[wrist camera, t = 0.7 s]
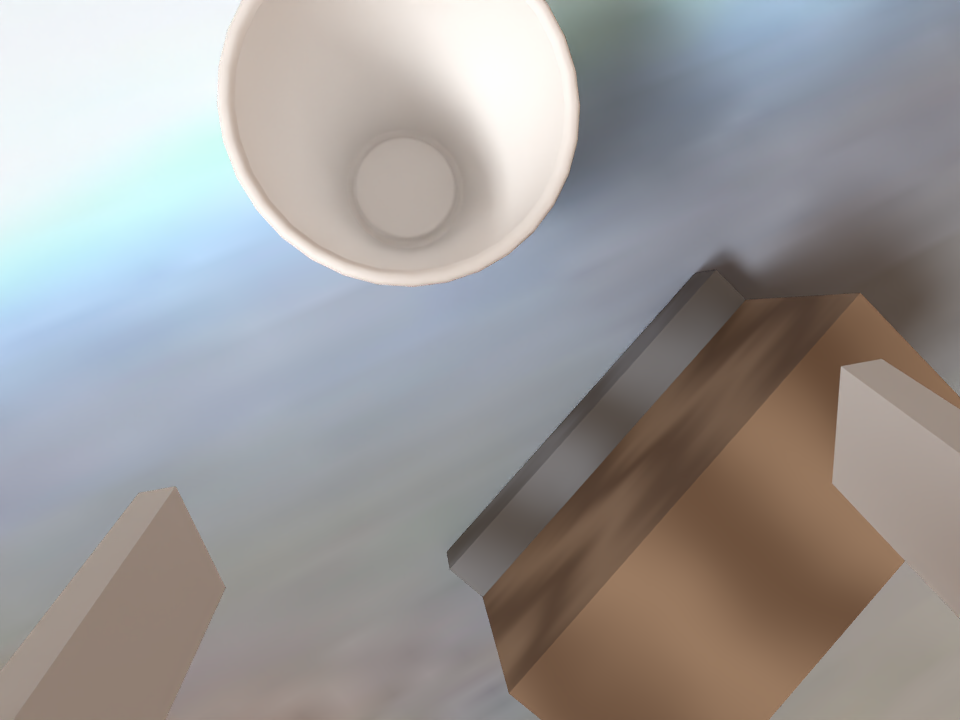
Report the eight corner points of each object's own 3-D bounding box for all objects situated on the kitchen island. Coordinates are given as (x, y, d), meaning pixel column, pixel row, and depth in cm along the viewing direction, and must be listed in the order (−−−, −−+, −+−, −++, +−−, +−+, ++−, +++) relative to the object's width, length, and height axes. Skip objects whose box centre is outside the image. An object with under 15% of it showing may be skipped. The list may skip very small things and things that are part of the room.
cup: (246, 160, 26) (134, 47, 15) (429, 33, 27) (444, -161, 16) (382, 342, 28) (366, 357, 17) (554, 218, 28) (647, 153, 17)
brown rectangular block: (623, 700, 30) (713, 860, 21) (446, 552, 29) (464, 657, 20) (855, 433, 31) (1038, 480, 22) (695, 273, 29) (821, 252, 20)
